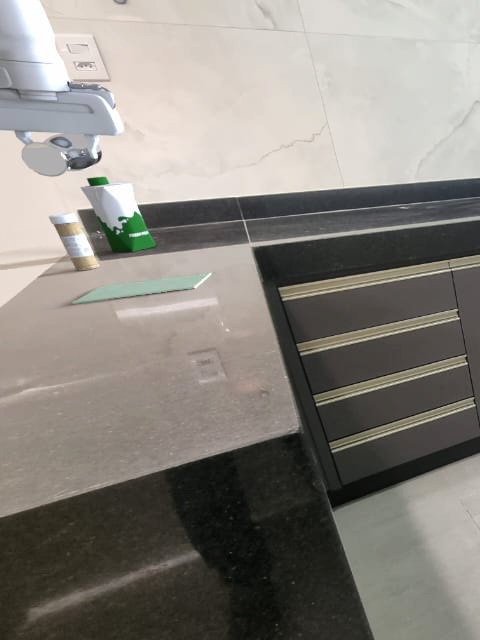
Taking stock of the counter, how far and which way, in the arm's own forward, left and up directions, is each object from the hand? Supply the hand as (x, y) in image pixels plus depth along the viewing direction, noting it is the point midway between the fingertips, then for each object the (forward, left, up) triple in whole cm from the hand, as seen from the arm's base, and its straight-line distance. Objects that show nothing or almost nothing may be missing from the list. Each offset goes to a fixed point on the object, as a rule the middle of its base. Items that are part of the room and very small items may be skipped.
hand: (65, 157), depth 105 cm
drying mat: (+5, -6, -27) cm, 28 cm away
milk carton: (-15, +51, -27) cm, 60 cm away
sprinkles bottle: (-17, +27, -27) cm, 42 cm away
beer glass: (0, -8, 0) cm, 8 cm away
